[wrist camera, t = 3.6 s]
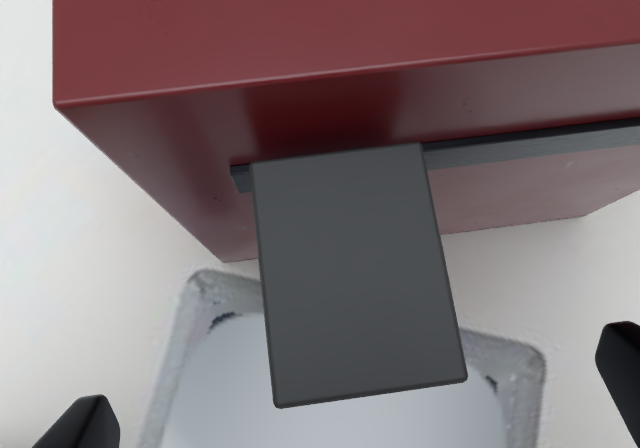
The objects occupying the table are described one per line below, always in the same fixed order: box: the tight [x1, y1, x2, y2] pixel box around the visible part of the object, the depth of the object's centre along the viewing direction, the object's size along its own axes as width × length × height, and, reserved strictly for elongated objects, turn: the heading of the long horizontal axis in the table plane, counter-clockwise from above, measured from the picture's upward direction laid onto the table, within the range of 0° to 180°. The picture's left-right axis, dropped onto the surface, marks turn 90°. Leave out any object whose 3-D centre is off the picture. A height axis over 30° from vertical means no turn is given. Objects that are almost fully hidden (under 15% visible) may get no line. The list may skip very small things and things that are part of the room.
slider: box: [249, 142, 468, 409], centre depth 10 cm, size 4×3×4 cm
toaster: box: [53, 0, 640, 263], centre depth 14 cm, size 9×15×13 cm, turn 98°
